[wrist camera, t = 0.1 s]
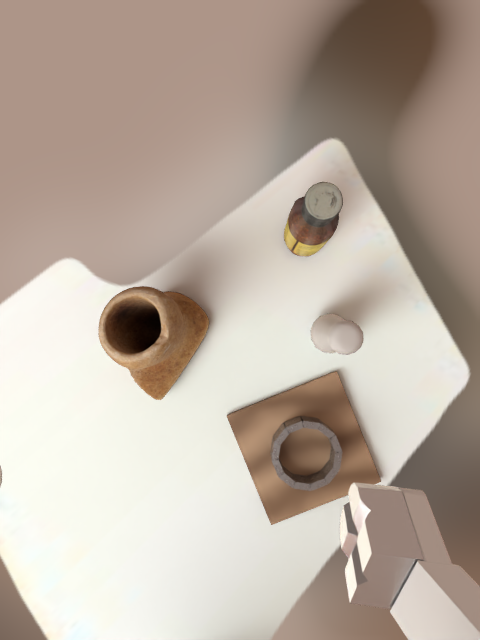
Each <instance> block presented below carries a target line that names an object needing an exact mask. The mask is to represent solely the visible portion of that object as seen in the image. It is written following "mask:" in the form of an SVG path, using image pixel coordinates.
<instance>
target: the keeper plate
mask: <svg viewBox="0 0 480 640" xmlns="http://www.w3.org/2000/svg"><path fill="white" fill-rule="evenodd" d="M300 415H301V416H308V417H315V418H317V419H320V420H321V421H322V422H323V423H325V424H326V425H327V426H329V427H330V428H331V429H332V430H333V432H334V433H335V435H336V437H337V439H338V442H339V444H340V447H341V449H342V459H341V466H340V469H339V472H338V473H337V474H336V475H335V477H334V478H333V479H332V480H331V482H330V483H329V484H328V483H327V484H328V485H325V486H323V487H320V488H318V489H315V490H313V491H312V490H311V491H307V490H300V489H294V488H292V487H290V486H289V485H288V484H286V483H285V482H284V481H283V480H281V479H280V478H279V477H278V475H277V473H276V470H275V468H274V465H273V463H272V460H271V454H270V451H271V444H272V437H273V435H274V433H275V432H276V431H277V430H278V428H279V427H280V426H281V424H282V423H284V422H285V421H287V420H290V419H292V418H295V417H297V416H300ZM227 418H228V421H229V423H230V425H231V428H232V430H233V433H234V435H235V438H236V440H237V442H238V445H239V447H240V450H241V452H242V455H243V457H244V460H245V462H246V464H247V467H248V469H249V472H250V474H251V477H252V479H253V481H254V484H255V486H256V489H257V491H258V494H259V496H260V498H261V501H262V503H263V506H264V508H265V511H266V513H267V515H268V518H269V520H270V523H271V525H273V524H275V523H278V522H280V521H283V520H285V519H288V518H290V517H293V516H295V515H298V514H300V513H303V512H305V511H308V510H311V509H313V508H316V507H318V506H321V505H323V504H326V503H328V502H331V501H333V500H336V499H338V498H341V497H343V496H346V495H348V492H349V489H350V486H351V485H352V484H353V483H364V484H376V483H379V482H381V479H380V477H379V475H378V472H377V470H376V467H375V465H374V462H373V460H372V457H371V455H370V452H369V450H368V447H367V445H366V442H365V440H364V437H363V435H362V433H361V430H360V428H359V425H358V423H357V420H356V418H355V415H354V413H353V410H352V408H351V405H350V403H349V400H348V398H347V395H346V393H345V390H344V388H343V386H342V383H341V381H340V378H339V376H338V373H337V372H336V371H335V372H332V373H330V374H327V375H325V376H322V377H320V378H317V379H315V380H312V381H310V382H307V383H305V384H302V385H300V386H297V387H295V388H292V389H290V390H287V391H285V392H282V393H280V394H278V395H275V396H273V397H270V398H268V399H265V400H263V401H260V402H258V403H255V404H253V405H250V406H248V407H245V408H243V409H240V410H238V411H235V412H233V413H230V414H228V415H227ZM284 424H285V423H284ZM330 450H331V444H330V442H329V439H328V437H327V436H325V435H324V434H323V433H322V432H320V431H319V430H316V429H309V428H302V429H299V430H297V431H294V432H292V433H290V434H289V435H288V436H287V437H286V439H285V440H284V441H283V442H282V444H281V445H280V452H279V458H280V461H281V463H282V465H283V466H284V467H285V468H287V469H288V470H289V471H290V472H292V473H293V474H298V475H305V476H308V475H311V474H313V473H316V472H318V471H320V470H321V469H322V468H323V467H324V465H325V464H326V463H327V462H328V460H329V457H330Z"/></svg>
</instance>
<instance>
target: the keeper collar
mask: <svg viewBox="0 0 480 640" xmlns="http://www.w3.org/2000/svg"><path fill="white" fill-rule="evenodd" d="M284 423H285V424H284ZM284 423H282V424H281V426H280V427H279V428H278V430H277V431H276V432H275V433H274V435H273V437H272V444H271V451H270V454H271V460H272V463H273V465H274V468H275V470H276V473H277V475H278V477H279V478H280V479H281V480H283V481H284V482H285V483H286V484H288V485H289V486H290V487H292V488H294V489H300V490H307V491H311V490H312V491H313V490H315V489H318V488H320V487H323V486H325V485H328V484H329V483H330V482H331V480H332V479H333V478H334V477H335V475H336V474H337V473H338V472H339V469H340V466H341V459H342V449H341V447H340V444H339V442H338V439H337V437H336V435H335V433H334V432H333V430H332V429H331V428H330V427H329V426H327V425H326V424H325V423H323V422H322V421H321V420H320V419H317V418H315V417H308V416H301V415H300V416H297V417H295V418H292V419H290V420H287V421H285V422H284ZM302 428H309V429H316V430H319V431H320V432H322V433H323V434H324V435H325V436H327V437H328V439H329V442H330V444H331V450H330V457H329V460H328V462H327V463H326V464H325V465H324V467H323V468H322V469H321V470H320V471H318V472H316V473H313V474H311V475H308V476H305V475H298V474H293V473H292V472H290V471H289V470H288V469H287V468H285V467H284V466H283V465H282V463H281V461H280V458H279V452H280V445H281V444H282V442H283V441H284V440H285V439H286V437H287V436H288V435H289V434H290V433H292V432H294V431H297V430H299V429H302ZM327 483H328V484H327Z"/></svg>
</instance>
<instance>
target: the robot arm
mask: <svg viewBox="0 0 480 640" xmlns="http://www.w3.org/2000/svg"><path fill="white" fill-rule="evenodd" d="M1 483H2V470H1V467H0V486H1ZM348 496H349V503H347V504H346V505H344V506H343V509H342V513H341V518H340V541H341V549H342V551H343V552H344V553H345V555H346V556H347V557H348V558H349V560H348V563H347V566H346V568H345V575H346V582H347V588H348V595H349V600H350V603H351V604H358V605H364V606H371V607H378V608H385V609H391V611H390V613H391V614H392V616H393V617H394V619H395V620H396V622H397V623H398V625H399V626H400V628H401V629H402V631H403V632H404V634H405V636H406V637H407V639H408V640H480V586H479V585H478V584H477V583H476V582H475V581H474V580H473V579H472V578H471V577H470V576H469V575H468V574H467V573H466V572H465V571H464V570H463V569H462V568H461V567H460V566H459V565H453V564H452V562H451V560H450V557H449V554H448V552H447V549H446V547H445V544H444V541H443V539H442V536H441V534H440V531H439V528H438V526H437V523H436V520H435V518H434V515H433V513H432V510H431V507H430V504H429V502H428V499H427V497H426V495H425V493H424V492H423V491H422V490H414V489H406V488H397V487H392V486H383V485H374V484H364V483H353V484H352V485H351V486H350V489H349V492H348Z"/></svg>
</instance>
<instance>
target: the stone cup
mask: <svg viewBox="0 0 480 640" xmlns="http://www.w3.org/2000/svg"><path fill="white" fill-rule="evenodd" d="M208 326H209V319H208V317H207V315H206V313H205V312H204V311H203V310H202V308H201V307H200V306H199V305H198V304H197V303H196V302H194V301H193V300H191V299H190V298H188V297H186V296H184V295H182V294H180V293H175V292H164V293H163V292H161V291H159V290H157V289H155V288H151V287H144V286H143V287H133V288H129V289H127V290H124V291H122V292H120V293H119V294H117V295H116V296H115V297H113V298H112V299H111V300H110V301H109V303H108V304H107V305H106V307H105V308H104V310H103V312H102V314H101V318H100V322H99V339H100V342H101V345H102V347H103V349H104V350H105V351H106V353H107V354H108V355H109V356H110V357H111V358H112V359H113V360H114V361H115V362H117V363H118V364H120V365H121V366H124V367H126V368H128V369H129V370H130V372H131V376H132V377H133V378H134V381H135V382H136V383H137V384H138V385H139V386H140V387H141V388H142V389H143V390H144V391H145V392H146V393H147V394H148V395H150V396H151V397H153V398H154V399H156V400H161V399H163V397H164V396H165V395H166V394H167V392H168V391H169V390H170V388H171V387H172V386H173V384H174V383H175V382H176V380H177V379H178V377H179V376H180V374H181V373H182V371H183V369H184V368H185V367H186V365H187V364H188V363H189V361H190V359H191V358H192V356H193V355H194V353H195V352H196V350H197V349H198V347H199V345H200V344H201V342H202V340H203V339H204V337H205V335H206V332H207V329H208Z"/></svg>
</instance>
